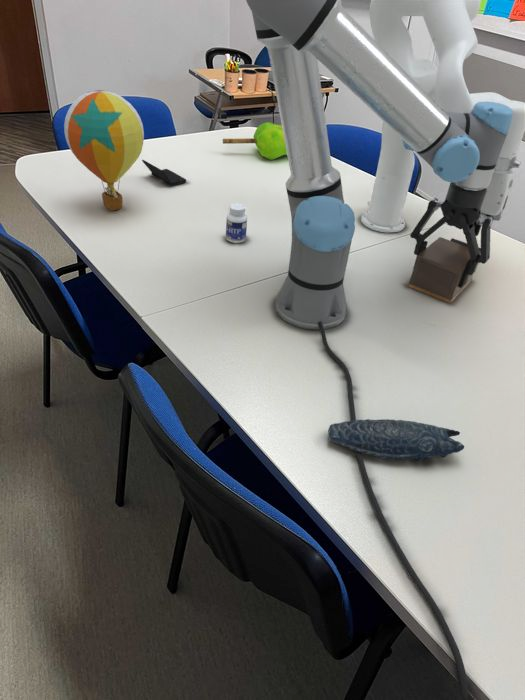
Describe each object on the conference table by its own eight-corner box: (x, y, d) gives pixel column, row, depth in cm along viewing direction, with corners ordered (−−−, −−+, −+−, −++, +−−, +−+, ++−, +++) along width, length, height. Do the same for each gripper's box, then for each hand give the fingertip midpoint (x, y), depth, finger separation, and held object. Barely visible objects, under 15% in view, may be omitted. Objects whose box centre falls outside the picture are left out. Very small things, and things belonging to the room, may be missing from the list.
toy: (64, 203, 145) (44, 85, 127) (127, 189, 156) (117, 79, 137) (97, 229, 134) (80, 105, 116) (162, 213, 145) (156, 96, 126)
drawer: (445, 253, 137) (452, 231, 133) (480, 266, 133) (488, 243, 129) (417, 278, 125) (424, 255, 121) (453, 293, 121) (462, 269, 117)
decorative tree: (219, 118, 187) (300, 118, 192) (219, 148, 194) (297, 147, 199) (226, 133, 174) (312, 132, 179) (226, 164, 180) (309, 163, 185)
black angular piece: (190, 175, 164) (173, 153, 156) (179, 193, 163) (161, 172, 155) (166, 170, 170) (147, 148, 162) (155, 188, 169) (136, 167, 161)
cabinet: (430, 266, 133) (439, 236, 127) (470, 281, 128) (481, 251, 123) (408, 286, 124) (417, 255, 119) (450, 303, 119) (461, 271, 114)
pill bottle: (222, 240, 135) (223, 208, 129) (230, 232, 139) (231, 200, 133) (241, 244, 134) (243, 212, 128) (248, 236, 138) (250, 204, 132)
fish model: (462, 473, 80) (472, 452, 77) (326, 456, 81) (331, 434, 78) (454, 441, 86) (463, 420, 82) (327, 425, 86) (331, 403, 83)
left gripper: (530, 196, 105) (492, 288, 119) (425, 165, 115) (401, 253, 129) (519, 206, 100) (481, 301, 114) (410, 173, 111) (387, 264, 124)
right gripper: (534, 166, 116) (505, 241, 127) (468, 150, 122) (447, 223, 133) (524, 174, 111) (495, 251, 122) (457, 157, 117) (435, 232, 129)
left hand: (438, 276), depth 122 cm, fingers closed on cabinet, 11 cm apart
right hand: (470, 236), depth 128 cm, fingers closed
